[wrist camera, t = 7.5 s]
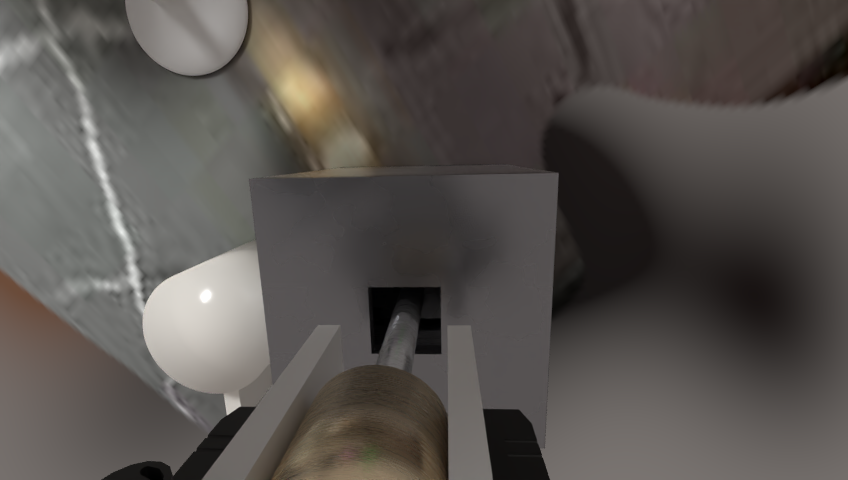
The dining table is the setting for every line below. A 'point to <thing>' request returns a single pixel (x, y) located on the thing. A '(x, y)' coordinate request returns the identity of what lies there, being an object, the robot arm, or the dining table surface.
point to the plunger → (377, 409)
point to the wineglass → (189, 32)
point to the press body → (416, 267)
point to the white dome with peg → (213, 328)
